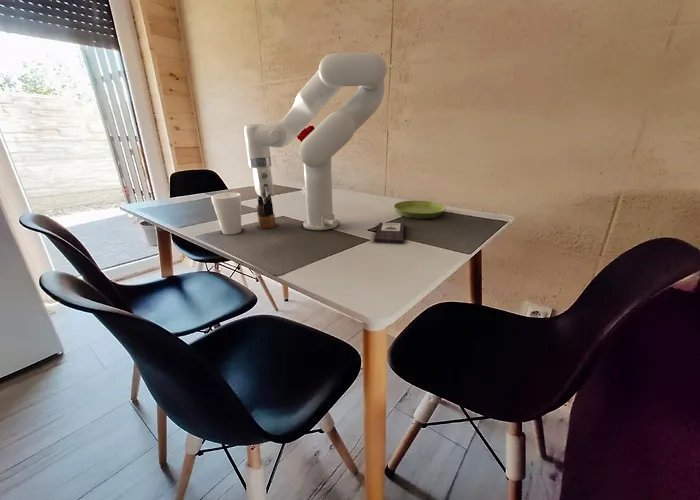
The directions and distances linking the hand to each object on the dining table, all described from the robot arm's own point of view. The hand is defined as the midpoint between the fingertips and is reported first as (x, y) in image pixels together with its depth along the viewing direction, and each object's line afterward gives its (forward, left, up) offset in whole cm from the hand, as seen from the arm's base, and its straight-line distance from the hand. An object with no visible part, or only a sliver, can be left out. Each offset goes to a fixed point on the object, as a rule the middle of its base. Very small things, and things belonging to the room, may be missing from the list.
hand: (266, 211), depth 114 cm
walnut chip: (0, 0, -1) cm, 1 cm away
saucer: (-32, -52, -6) cm, 61 cm away
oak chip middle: (0, 0, -3) cm, 3 cm away
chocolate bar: (-39, -24, -6) cm, 46 cm away
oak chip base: (0, 0, -6) cm, 6 cm away
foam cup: (+4, +12, -6) cm, 14 cm away
